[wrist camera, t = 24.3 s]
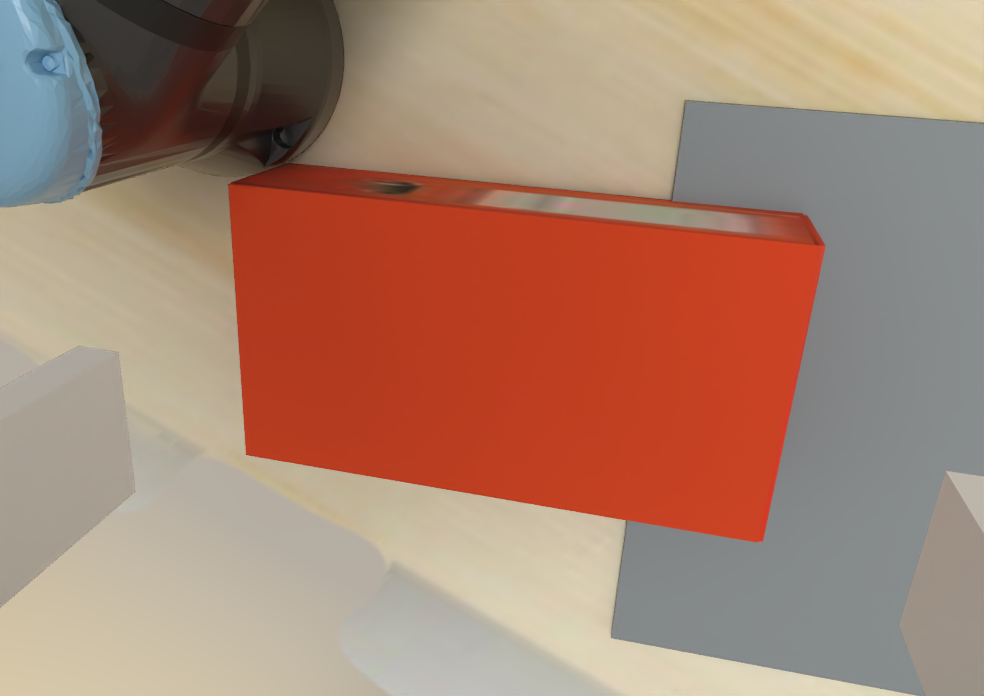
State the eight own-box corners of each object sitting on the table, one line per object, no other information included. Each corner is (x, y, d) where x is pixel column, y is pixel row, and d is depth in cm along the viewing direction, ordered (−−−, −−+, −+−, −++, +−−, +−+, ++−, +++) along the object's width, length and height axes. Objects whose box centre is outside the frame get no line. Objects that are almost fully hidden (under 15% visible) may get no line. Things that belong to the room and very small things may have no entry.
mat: (611, 632, 61) (610, 637, 61) (685, 100, 47) (686, 101, 46) (959, 697, 57) (961, 703, 56) (1156, 136, 43) (1162, 137, 42)
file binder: (827, 248, 40) (225, 183, 46) (763, 547, 46) (243, 454, 53) (807, 213, 47) (291, 162, 53) (755, 475, 54) (299, 402, 60)
